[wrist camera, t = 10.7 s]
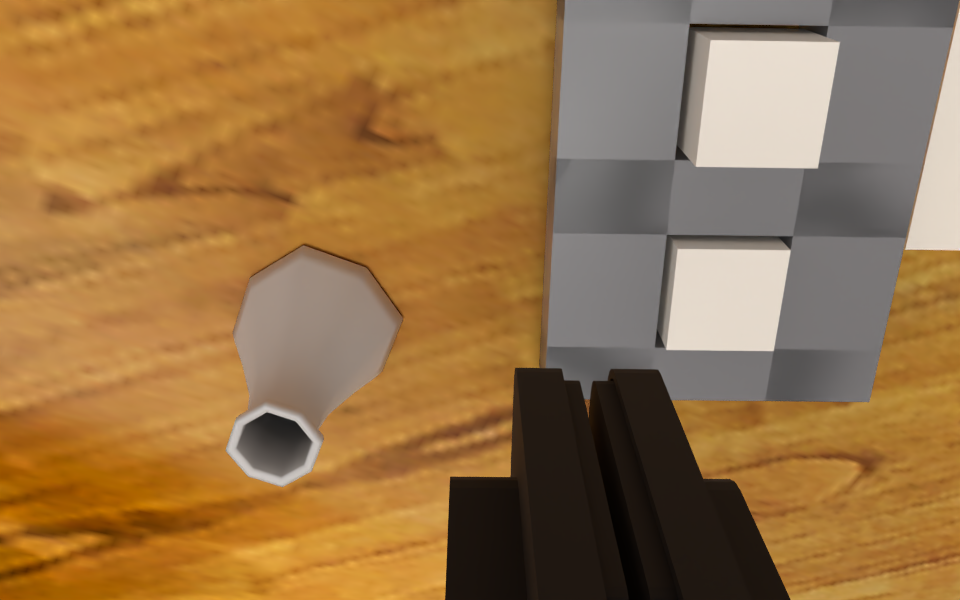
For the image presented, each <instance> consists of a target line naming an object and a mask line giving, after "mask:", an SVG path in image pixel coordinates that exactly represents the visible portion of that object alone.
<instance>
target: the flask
mask: <svg viewBox="0 0 960 600" xmlns="http://www.w3.org/2000/svg"><path fill="white" fill-rule="evenodd" d="M402 321H403V318H402V316H401V315H400V313H399V312H398V311H397V309H396V308H395V306H394V305H393V304H392V302H391V301H390V299H389V298H388V297H387V295H386V294H385V293H384V291H383V290H382V288H381V287H380V286H379V284H378V283H377V281H376V280H375V279H374V277H373V276H372V274H371V273H370V272H369V270H368V269H367V268H366V267H363V266H360V265H357V264H354V263H352V262H349V261H346V260H343V259H340V258H338V257H335V256H332V255H329V254H326V253H324V252H321V251H318V250H315V249H312V248H310V247H307V246H304V245H303V246H301V247H300V248H298V249H296V250H295V251H293V252H292V253H290V254H288V255H287V256H285V257H283V258H282V259H280V260H278V261H277V262H275V263H273V264H272V265H270V266H269V267H267V268H265V269H264V270H262V271H260V272H259V273H257V274H255V275H254V276H252V277H250V279H249V282H248V286H247V289H246V292H245V295H244V298H243V302H242V305H241V308H240V311H239V314H238V317H237V321H236V324H235V327H234V330H233V336H234V340H235V344H236V347H237V350H238V353H239V356H240V359H241V362H242V365H243V369H244V374H245V378H246V382H247V386H248V391H249V405H248V410H247V411H246V412H244V413H242V414H240V415H239V416H238V417H237V418H236V420H235V423H234V426H233V429H232V432H231V435H230V439H229V442H228V445H227V448H226V452H227V453H228V454H229V455H230V456H231V457H232V459H233V460H234V461H235V462H236V463H237V464H238V465H239V467H240V468H241V469H242V470H243V471H244V472H245V474H246V475H247V476H249V477H252V478H255V479H258V480H261V481H265V482H268V483H271V484H274V485H278V486H281V487H283V486H285V485H287V484H289V483H291V482H293V481H294V480H296V479H298V478H300V477H302V476H304V475H306V474H307V473H309V472H311V471H312V469H313V466H314V463H315V461H316V458H317V456H318V453H319V450H320V448H321V445H322V442H323V440H324V438H323V435H322V434H321V432H320V431H319V430H318V429H319V428H320V426H321V425H322V423H323V422H324V420H325V419H326V417H327V416H328V415H329V414H330V413H331V412H332V411H333V410H334V409H336V408H337V407H338V406H339V405H340V404H341V403H343V402H344V401H345V400H346V399H347V398H348V397H350V396H351V395H352V394H353V393H355V392H356V391H357V390H359V389H360V388H361V387H363V386H364V385H365V384H367V383H368V382H370V381H371V380H372V379H374V378H375V377H376V376H377V375H379V374H380V373H381V372H382V371H383V368H384V366H385V363H386V361H387V358H388V356H389V353H390V351H391V348H392V346H393V343H394V341H395V338H396V336H397V333H398V331H399V328H400V326H401V323H402Z"/></svg>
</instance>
